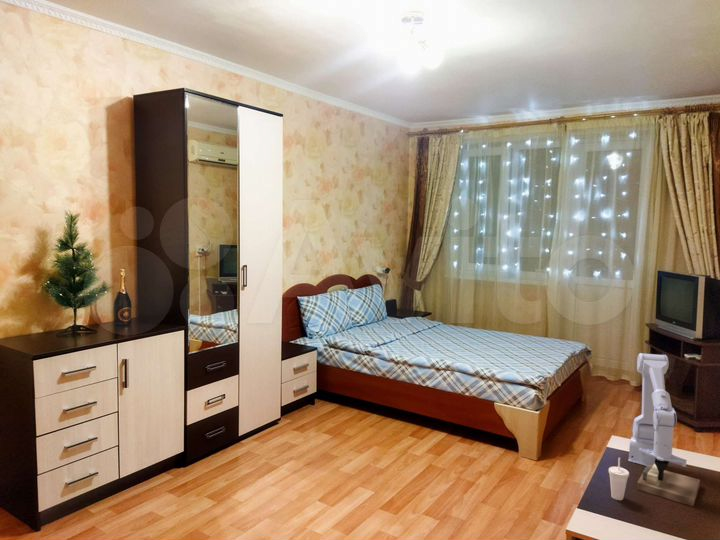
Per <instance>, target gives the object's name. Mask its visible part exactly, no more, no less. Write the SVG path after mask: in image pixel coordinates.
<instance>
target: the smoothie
mask: <svg viewBox="0 0 720 540" xmlns="http://www.w3.org/2000/svg"><path fill="white" fill-rule="evenodd" d="M617 461H618V462H617V466H609V468H608V474H609V481H610V483H609V484H610V496H611V498H612V499H614V500H616V501H622V500H624V497H625V494H626V493H625V492H626V488H627V484H628V483H627V481H628V478H629V476H630V471H628V470H627V469H625V468H623V467H621V457H618V458H617Z"/></svg>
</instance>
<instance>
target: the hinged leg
mask: <svg viewBox="0 0 720 540" xmlns="http://www.w3.org/2000/svg"><path fill="white" fill-rule="evenodd" d="M658 481H659V472H658V469H657V467H656V465H655V463H654V465H653V466H652V468H651V469H650V471H649V472H648V473H647V482H648V483H651V484H654V485H656V484H657V483H658Z"/></svg>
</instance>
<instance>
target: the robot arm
mask: <svg viewBox="0 0 720 540" xmlns="http://www.w3.org/2000/svg"><path fill="white" fill-rule="evenodd" d="M669 365H670V364H669V357H668V355H666V354H655V353H654V354H653V353H642V352H640V353H639V354H637V359H636V370H637V373H639V374H641V378H642V384H641V385H642V386H641V389H642V390H641V414H640V415H638V416H636V417H635V418H634V419H633V422H632V423H633V424H632V436H631V438H630V441H629V447H628V448H629V451H628V452H629V453H628V462H630V463H634V464H638V465H642V466H645V467H647V465H648V466H653V465H654V463H655V465H656V467H657V469H658V472H659V480H661V481H663V478H664V470H666V468H667V467H668V465H669V463H671V464H675V465H679V466H681V467H684V468H686V467H687V461H688V459H684V458H683V457H679V456H676V455H674V454H673V443H674V441H673V440H674V429H675V428H676V427H677V421H678V419H677V418H678V417H677V412H676V411H675V408H674V407H673V405H672V401H671V396H670V393H669V392H668V391H666V385H665V374H666V373H667V371H668V369H669Z"/></svg>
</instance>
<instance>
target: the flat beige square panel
mask: <svg viewBox="0 0 720 540" xmlns="http://www.w3.org/2000/svg"><path fill="white" fill-rule="evenodd" d="M651 468H652V466H648V465H647V466H645V468H644V469H643V471H642V473H641V475H640V477H639V479H638V480H637V483H636V490H637V491H638V490H639V491H642V492H646V493H647V494H651V495H655V496H657V497H661V498H664V499H668V500H671V501H674V502H678V503H681V504H684V505H688V506H690V507H694V504H695V501H696V499H697V495H698V492H699V489H700V485H701V479H699V478H695V477H692V476H689V475H688V476H687V475H683V474H681V473H680V474H679V473H677V472H672V471H669V470H666V469H665V470H664V478H663V481H661V480H659V481H658V483H657V484H656V485H654V484H651V483H648V482H647V473H648V472H649V471H650V469H651Z"/></svg>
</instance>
